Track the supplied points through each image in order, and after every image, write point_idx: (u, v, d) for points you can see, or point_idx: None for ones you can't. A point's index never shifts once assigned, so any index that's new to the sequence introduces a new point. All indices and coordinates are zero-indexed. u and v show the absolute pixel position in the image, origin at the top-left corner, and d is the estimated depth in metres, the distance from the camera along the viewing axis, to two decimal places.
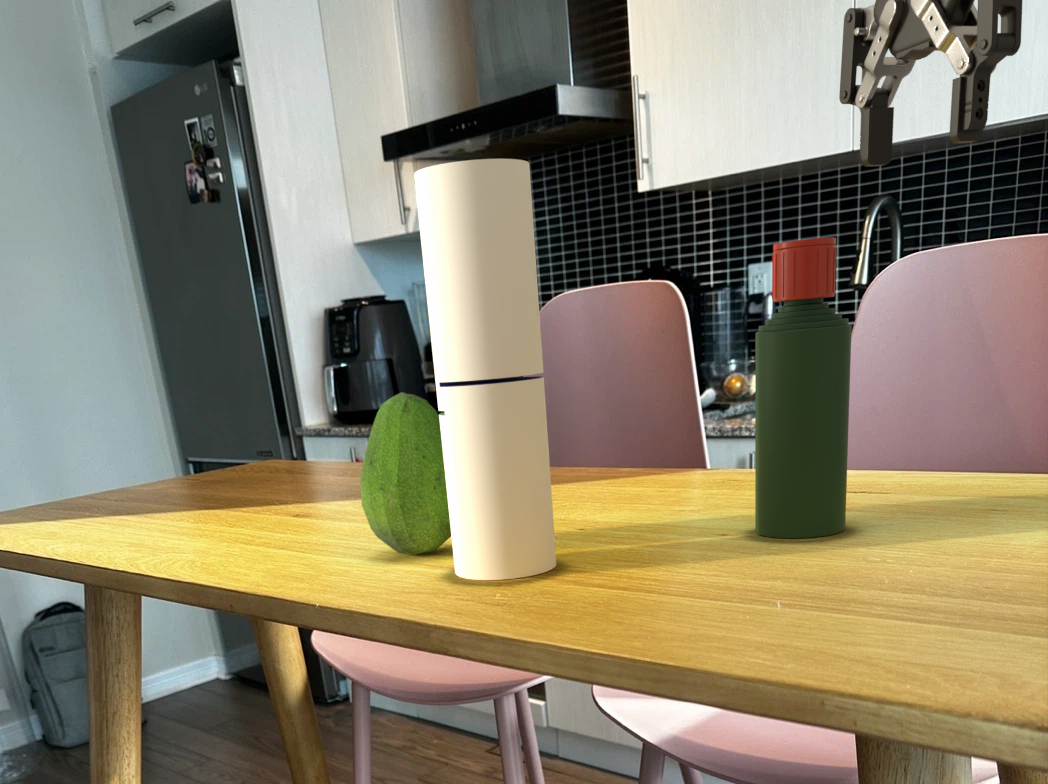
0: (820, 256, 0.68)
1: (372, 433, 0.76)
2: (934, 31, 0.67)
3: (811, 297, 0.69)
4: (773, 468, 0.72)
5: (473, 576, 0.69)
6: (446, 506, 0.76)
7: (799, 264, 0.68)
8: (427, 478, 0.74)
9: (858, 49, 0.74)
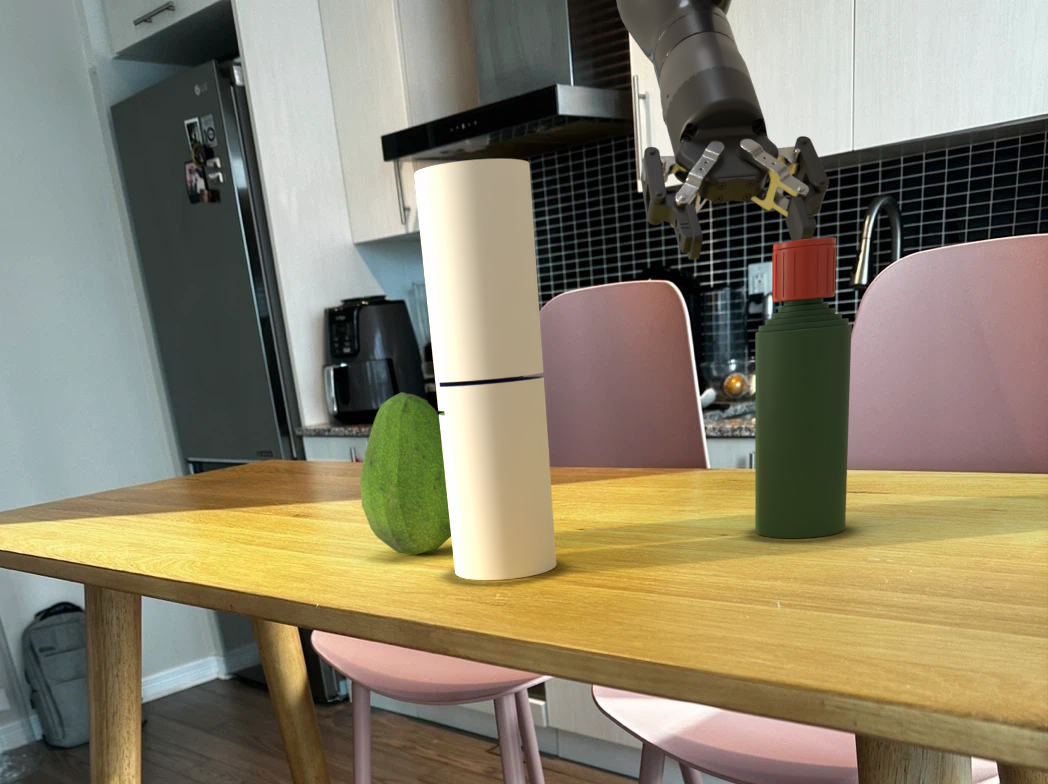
0: (820, 256, 0.68)
1: (372, 433, 0.76)
2: None
3: (811, 297, 0.69)
4: (773, 468, 0.72)
5: (473, 576, 0.69)
6: (446, 506, 0.76)
7: (799, 264, 0.68)
8: (427, 478, 0.74)
9: (797, 180, 0.84)
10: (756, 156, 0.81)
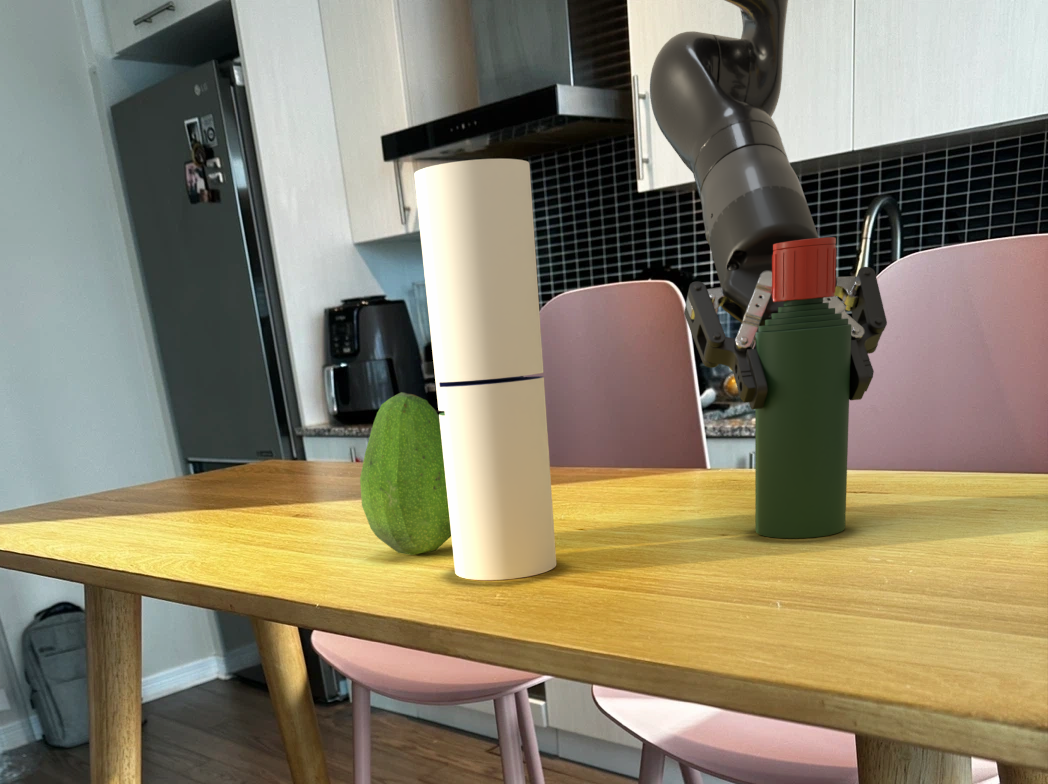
0: (820, 256, 0.68)
1: (372, 433, 0.76)
2: None
3: (811, 297, 0.69)
4: (773, 468, 0.72)
5: (473, 576, 0.69)
6: (446, 506, 0.76)
7: (799, 264, 0.68)
8: (427, 478, 0.74)
9: (855, 314, 0.75)
10: None
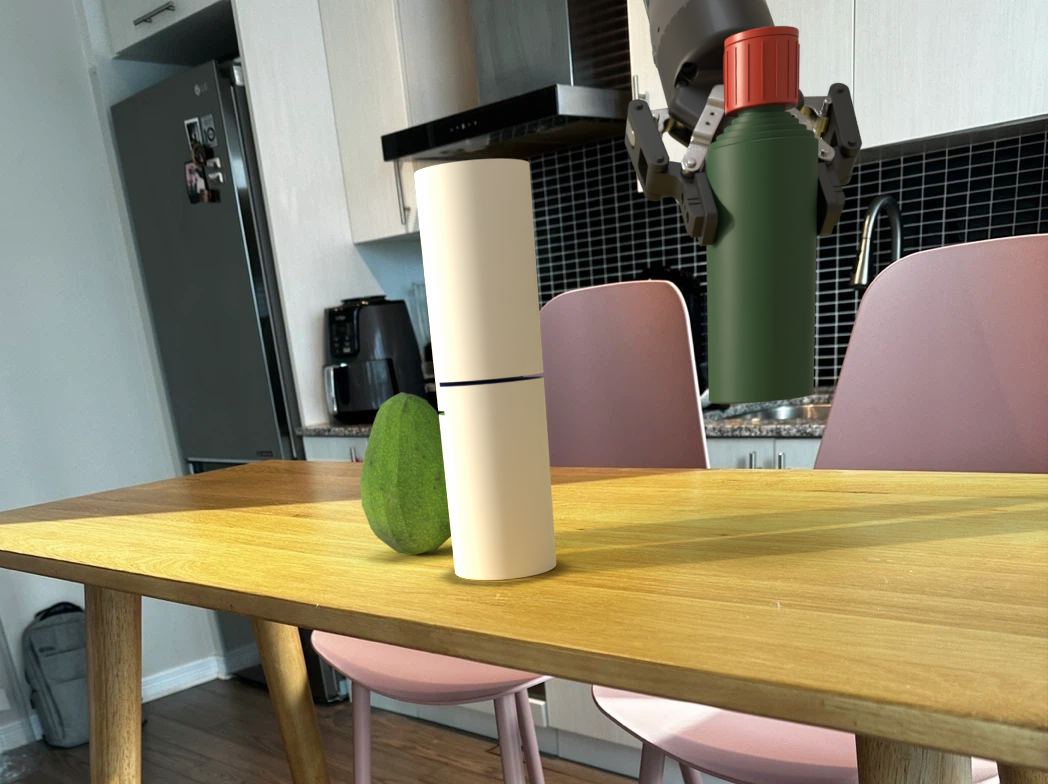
0: (779, 49, 0.56)
1: (372, 433, 0.76)
2: None
3: (769, 102, 0.57)
4: (726, 317, 0.61)
5: (473, 576, 0.69)
6: (446, 506, 0.76)
7: (754, 59, 0.56)
8: (427, 478, 0.74)
9: (826, 140, 0.64)
10: None
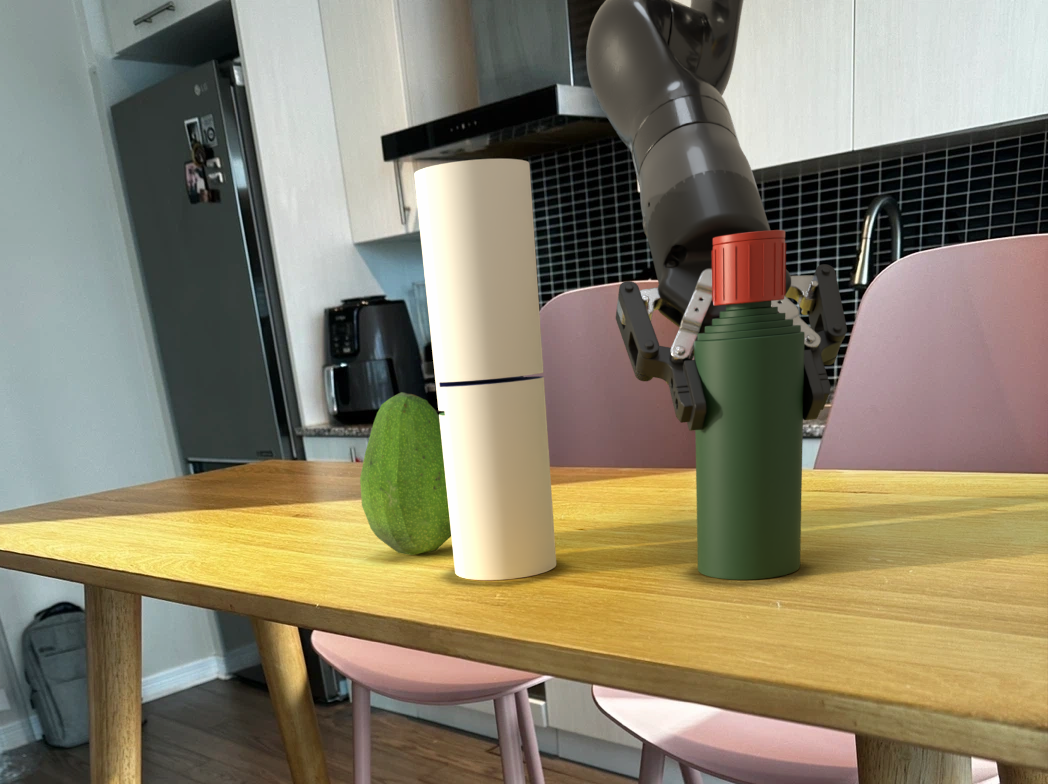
0: (766, 252, 0.58)
1: (372, 433, 0.76)
2: None
3: (756, 300, 0.58)
4: (714, 498, 0.62)
5: (473, 576, 0.69)
6: (446, 506, 0.76)
7: (741, 261, 0.58)
8: (427, 478, 0.74)
9: (812, 319, 0.65)
10: None
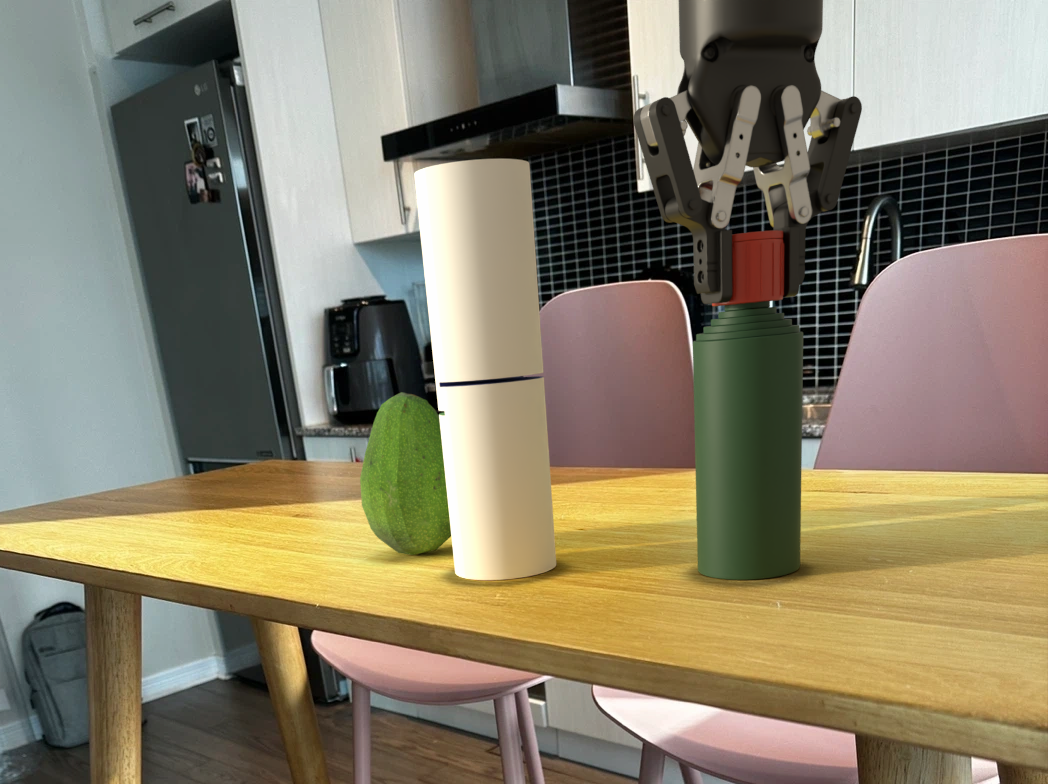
0: (764, 253, 0.58)
1: (372, 433, 0.76)
2: None
3: (754, 300, 0.58)
4: (714, 498, 0.62)
5: (473, 576, 0.69)
6: (446, 506, 0.76)
7: (740, 261, 0.58)
8: (427, 478, 0.74)
9: (813, 150, 0.60)
10: (787, 126, 0.56)
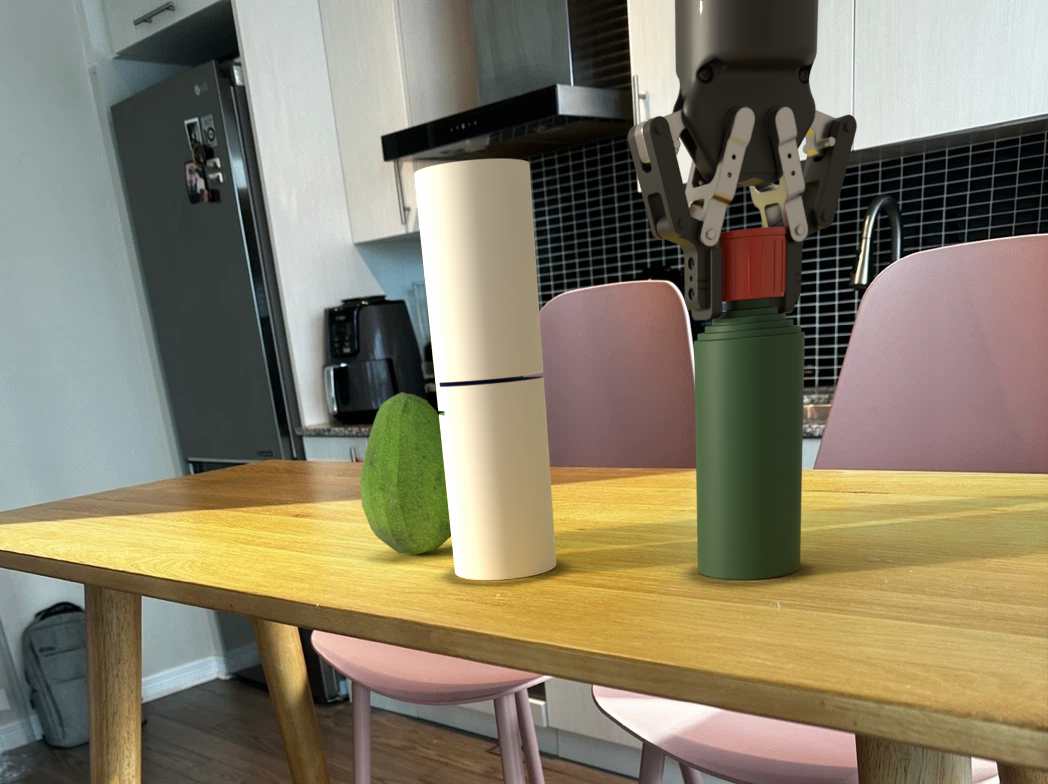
0: None
1: (372, 433, 0.76)
2: (790, 174, 0.57)
3: None
4: (714, 498, 0.62)
5: (473, 576, 0.69)
6: (446, 506, 0.76)
7: None
8: (427, 478, 0.74)
9: None
10: None
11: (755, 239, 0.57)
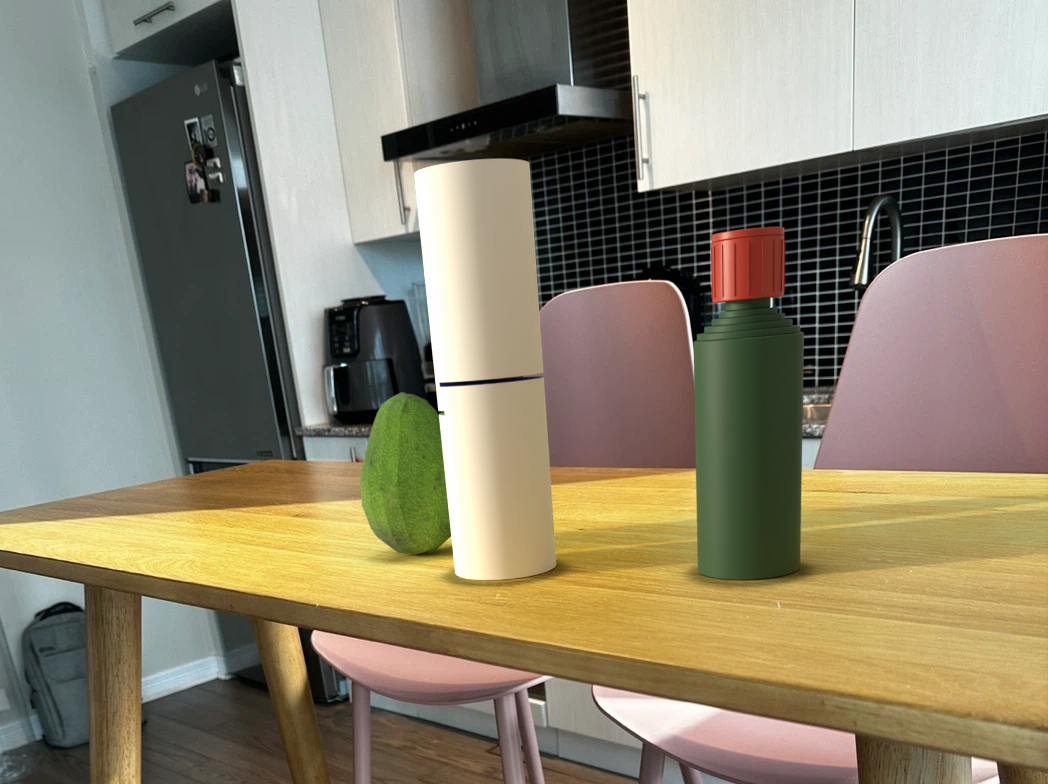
0: None
1: (372, 433, 0.76)
2: None
3: None
4: (714, 498, 0.62)
5: (473, 576, 0.69)
6: (446, 506, 0.76)
7: None
8: (427, 478, 0.74)
9: None
10: None
11: (754, 239, 0.57)
